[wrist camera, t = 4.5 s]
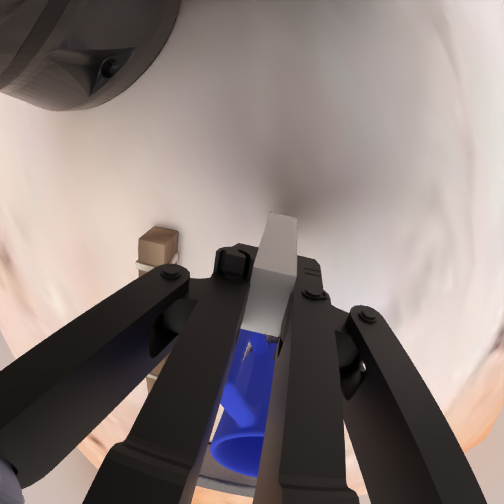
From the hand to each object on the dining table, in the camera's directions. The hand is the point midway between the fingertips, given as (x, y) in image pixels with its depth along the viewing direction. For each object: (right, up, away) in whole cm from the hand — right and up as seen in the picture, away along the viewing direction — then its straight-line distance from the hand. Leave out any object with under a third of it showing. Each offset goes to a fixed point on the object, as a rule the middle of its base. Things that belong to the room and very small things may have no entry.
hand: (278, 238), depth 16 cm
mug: (0, -9, +9) cm, 13 cm away
